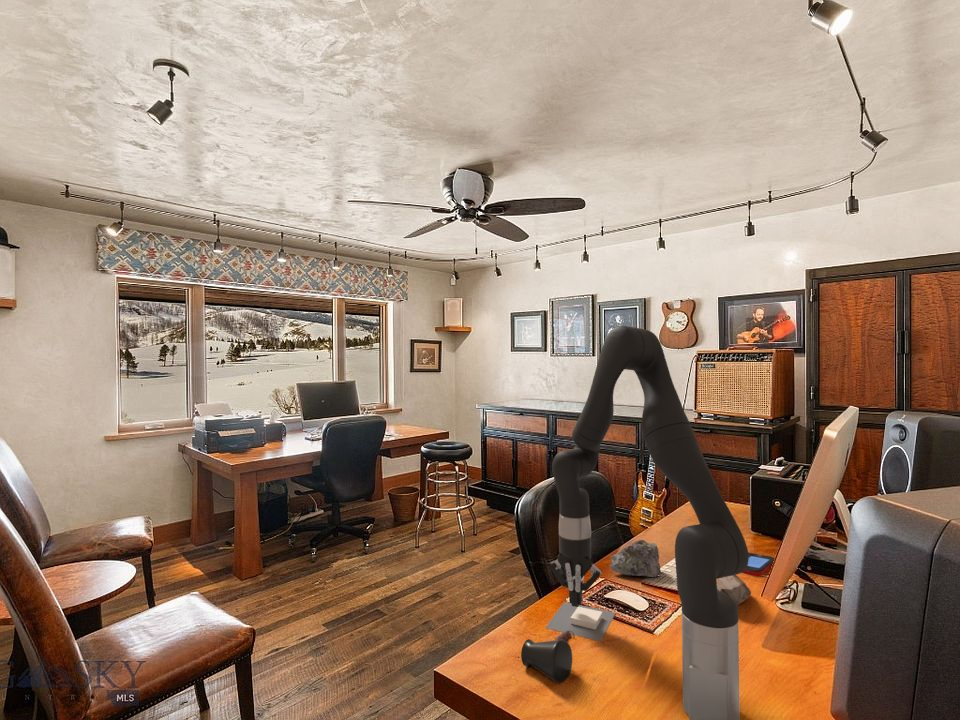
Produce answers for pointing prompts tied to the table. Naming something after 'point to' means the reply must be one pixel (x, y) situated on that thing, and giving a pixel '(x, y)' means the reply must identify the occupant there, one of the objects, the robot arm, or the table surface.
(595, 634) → the mat
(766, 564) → the game console
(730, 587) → the stone
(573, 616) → the tile
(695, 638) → the robot arm
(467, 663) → the table surface
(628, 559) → the mineral rock
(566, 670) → the coffee pot
